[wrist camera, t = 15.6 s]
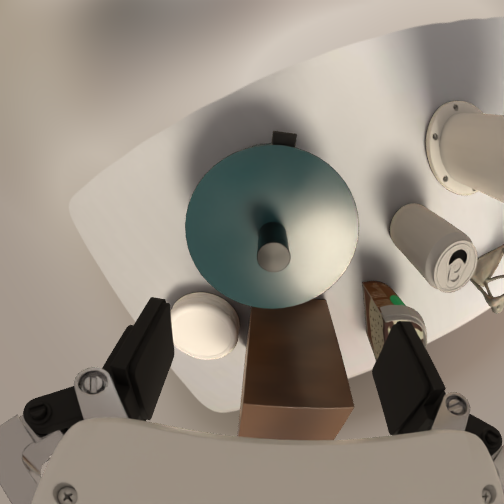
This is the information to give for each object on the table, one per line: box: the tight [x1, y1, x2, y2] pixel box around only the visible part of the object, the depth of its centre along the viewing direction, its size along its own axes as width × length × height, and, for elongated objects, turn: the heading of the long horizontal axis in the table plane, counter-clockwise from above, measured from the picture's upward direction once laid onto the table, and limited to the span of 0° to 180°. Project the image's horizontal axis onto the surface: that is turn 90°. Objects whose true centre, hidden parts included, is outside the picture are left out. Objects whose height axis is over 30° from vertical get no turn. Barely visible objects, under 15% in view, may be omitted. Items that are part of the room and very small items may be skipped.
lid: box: [185, 144, 359, 309], centre depth 23 cm, size 15×15×5 cm
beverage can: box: [390, 203, 477, 293], centre depth 28 cm, size 6×6×12 cm
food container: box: [362, 281, 427, 361], centre depth 34 cm, size 12×6×10 cm, turn 16°
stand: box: [237, 299, 354, 440], centre depth 32 cm, size 10×10×18 cm
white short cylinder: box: [171, 292, 240, 360], centre depth 39 cm, size 10×10×4 cm
